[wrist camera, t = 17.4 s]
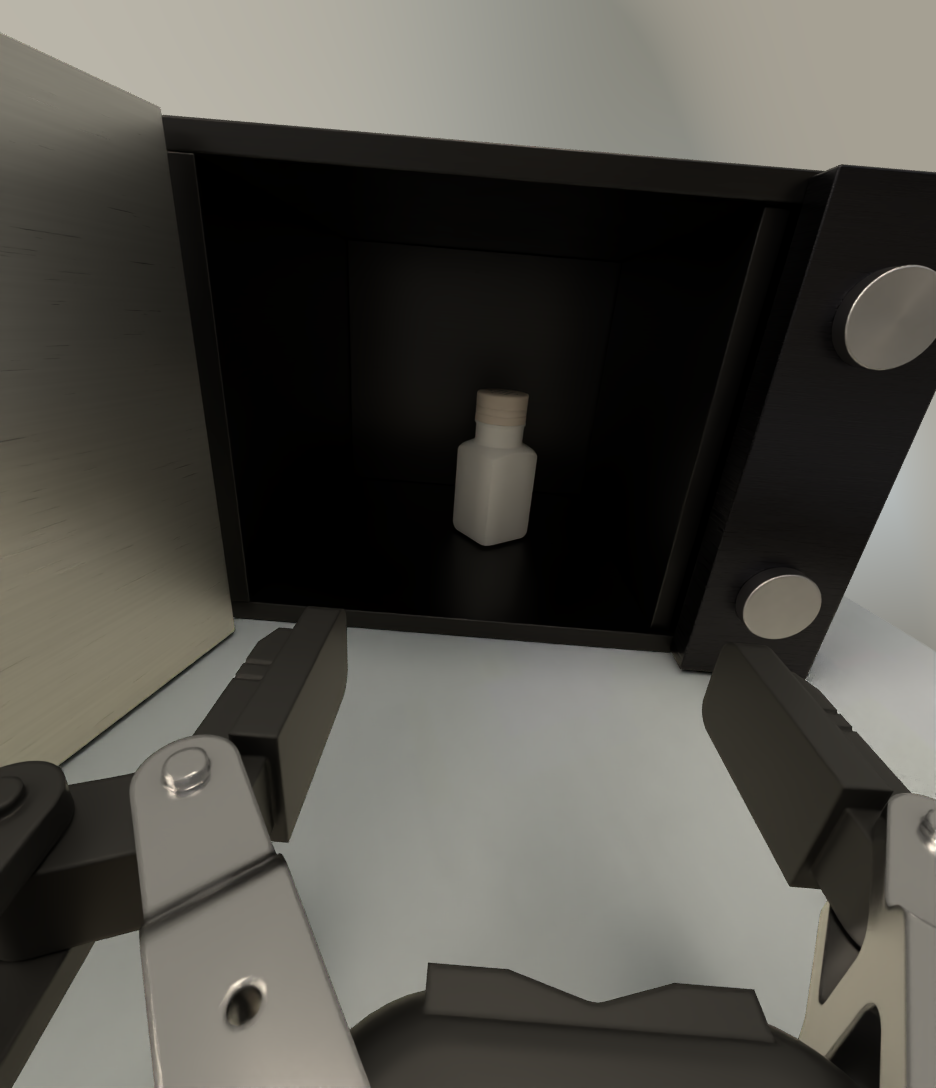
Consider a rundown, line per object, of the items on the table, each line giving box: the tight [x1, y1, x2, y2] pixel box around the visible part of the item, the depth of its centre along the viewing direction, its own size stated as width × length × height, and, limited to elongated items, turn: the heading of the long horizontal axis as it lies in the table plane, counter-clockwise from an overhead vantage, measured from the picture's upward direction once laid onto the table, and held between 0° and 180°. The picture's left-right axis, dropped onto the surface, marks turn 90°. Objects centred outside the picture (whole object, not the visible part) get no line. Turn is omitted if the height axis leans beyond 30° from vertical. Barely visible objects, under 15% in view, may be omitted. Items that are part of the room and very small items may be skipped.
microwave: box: [162, 115, 936, 679], centre depth 30 cm, size 24×28×20 cm
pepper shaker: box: [453, 389, 537, 546], centre depth 33 cm, size 4×4×10 cm
